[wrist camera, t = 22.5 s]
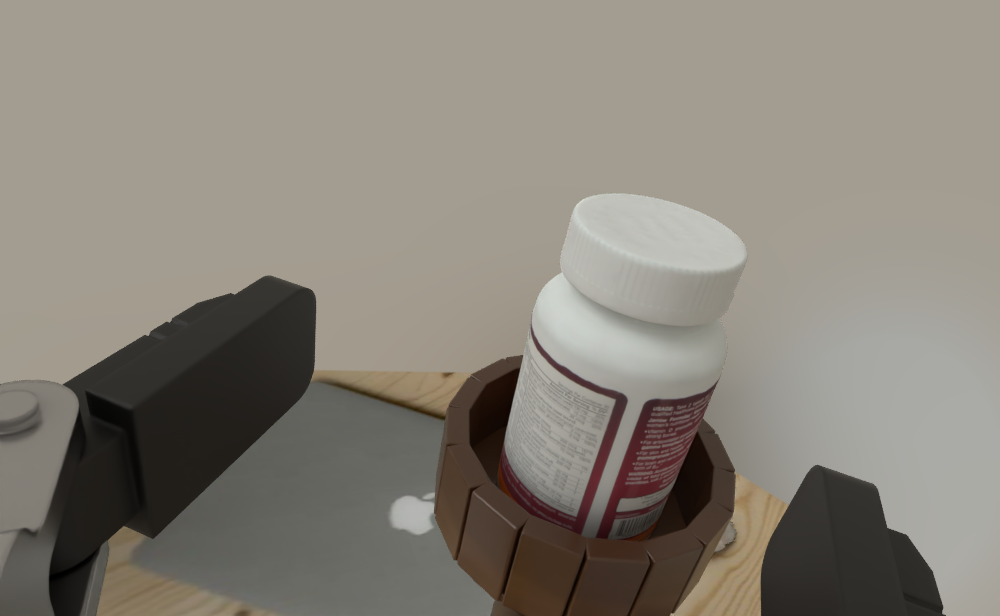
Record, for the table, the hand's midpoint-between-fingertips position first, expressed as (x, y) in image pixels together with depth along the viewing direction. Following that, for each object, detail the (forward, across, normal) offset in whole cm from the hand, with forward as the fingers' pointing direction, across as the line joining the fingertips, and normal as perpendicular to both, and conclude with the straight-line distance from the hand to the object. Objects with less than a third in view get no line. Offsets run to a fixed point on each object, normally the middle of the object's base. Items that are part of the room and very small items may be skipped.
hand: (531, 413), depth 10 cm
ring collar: (+10, -1, +12) cm, 16 cm away
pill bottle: (+10, -1, +12) cm, 16 cm away
